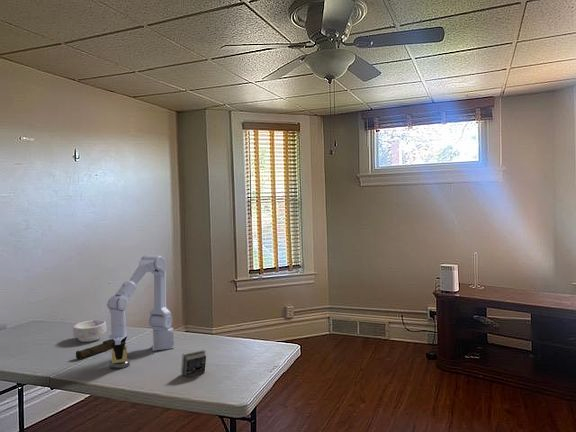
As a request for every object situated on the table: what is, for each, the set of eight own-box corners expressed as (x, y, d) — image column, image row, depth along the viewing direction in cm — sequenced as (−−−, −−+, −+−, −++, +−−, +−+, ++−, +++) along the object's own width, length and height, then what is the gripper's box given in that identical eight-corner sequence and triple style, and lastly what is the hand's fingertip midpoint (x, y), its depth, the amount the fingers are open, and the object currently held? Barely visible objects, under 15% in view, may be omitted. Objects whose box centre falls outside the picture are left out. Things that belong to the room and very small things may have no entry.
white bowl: (66, 342, 215) (66, 326, 214) (91, 333, 229) (90, 318, 228) (89, 345, 209) (88, 329, 209) (113, 336, 223) (112, 321, 223)
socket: (127, 357, 184) (126, 343, 184) (126, 361, 179) (126, 347, 179) (113, 358, 183) (112, 344, 182) (112, 363, 177) (111, 349, 177)
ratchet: (129, 368, 178) (128, 356, 178) (109, 370, 176) (108, 358, 176) (131, 352, 198) (131, 341, 198) (113, 354, 195) (113, 343, 195)
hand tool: (80, 361, 188) (79, 350, 188) (75, 359, 191) (75, 349, 191) (119, 348, 204) (118, 338, 204) (114, 347, 206) (113, 337, 206)
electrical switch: (203, 369, 175) (203, 347, 174) (208, 374, 171) (208, 352, 170) (180, 374, 170) (180, 352, 169) (185, 380, 166) (185, 357, 165)
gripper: (109, 321, 186) (111, 352, 186) (106, 330, 172) (107, 364, 173) (127, 319, 188) (128, 350, 189) (125, 328, 174) (126, 361, 175)
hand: (119, 356), depth 181 cm, fingers closed on socket, 6 cm apart
